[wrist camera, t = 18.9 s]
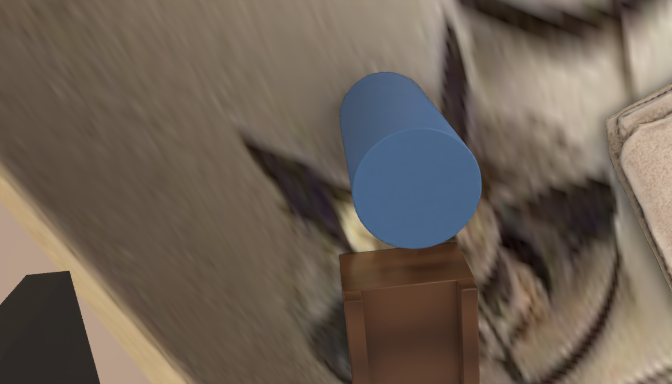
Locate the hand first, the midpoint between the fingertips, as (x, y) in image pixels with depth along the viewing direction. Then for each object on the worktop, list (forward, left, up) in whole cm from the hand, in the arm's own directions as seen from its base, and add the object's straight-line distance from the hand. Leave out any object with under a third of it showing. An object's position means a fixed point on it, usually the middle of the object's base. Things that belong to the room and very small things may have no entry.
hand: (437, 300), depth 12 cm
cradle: (+6, -16, -28) cm, 33 cm away
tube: (+3, -3, -22) cm, 22 cm away
